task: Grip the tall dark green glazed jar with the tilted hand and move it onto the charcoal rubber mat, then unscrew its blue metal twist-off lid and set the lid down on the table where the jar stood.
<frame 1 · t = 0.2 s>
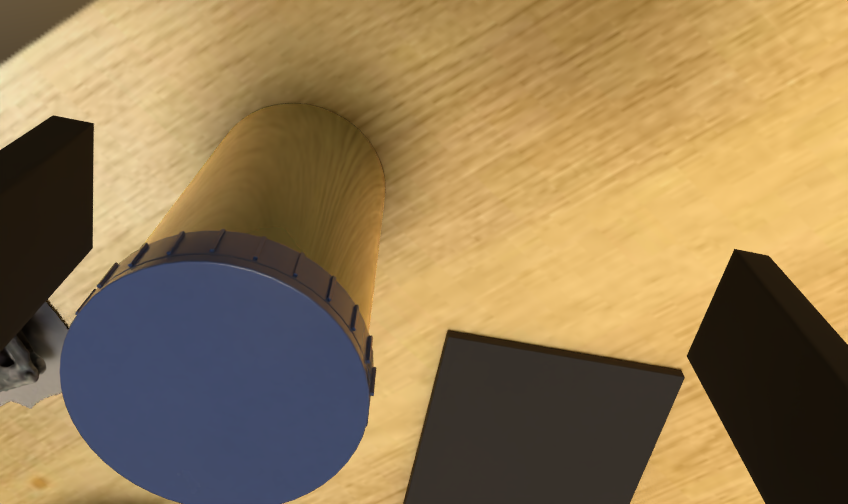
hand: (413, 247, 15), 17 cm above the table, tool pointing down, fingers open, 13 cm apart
jar: (299, 187, 33), on the table
lid: (219, 388, 20), point 15 cm above the table, screwed on, not yet turned
mat: (529, 457, 40), on the table
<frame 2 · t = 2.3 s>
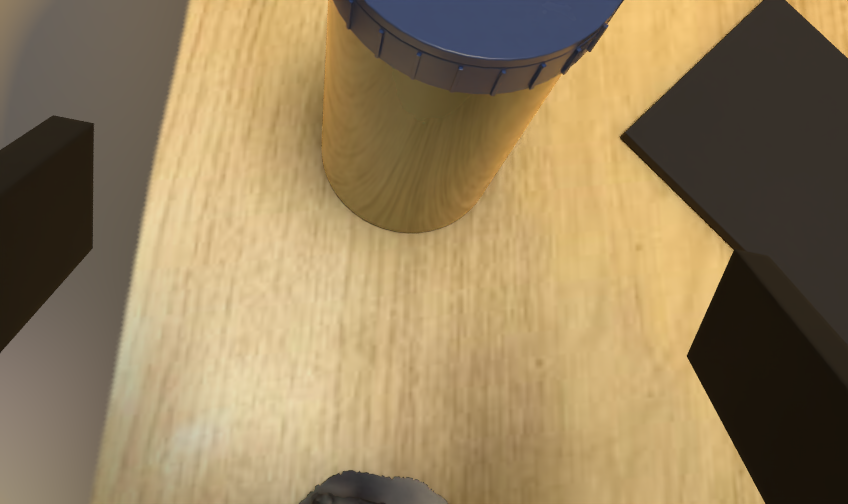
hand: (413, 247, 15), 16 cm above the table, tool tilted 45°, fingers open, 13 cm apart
jar: (408, 150, 33), on the table
mat: (802, 164, 36), on the table
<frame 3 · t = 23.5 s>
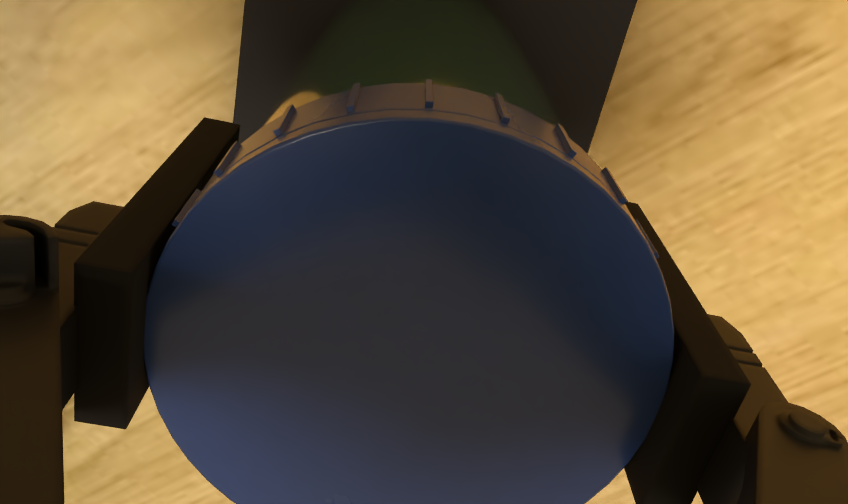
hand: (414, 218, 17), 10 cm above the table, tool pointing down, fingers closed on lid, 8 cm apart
jar: (416, 101, 25), point 1 cm above the table, touching mat
lid: (409, 358, 12), point 15 cm above the table, screwed on, not yet turned, touching gripper
mat: (419, 97, 25), on the table
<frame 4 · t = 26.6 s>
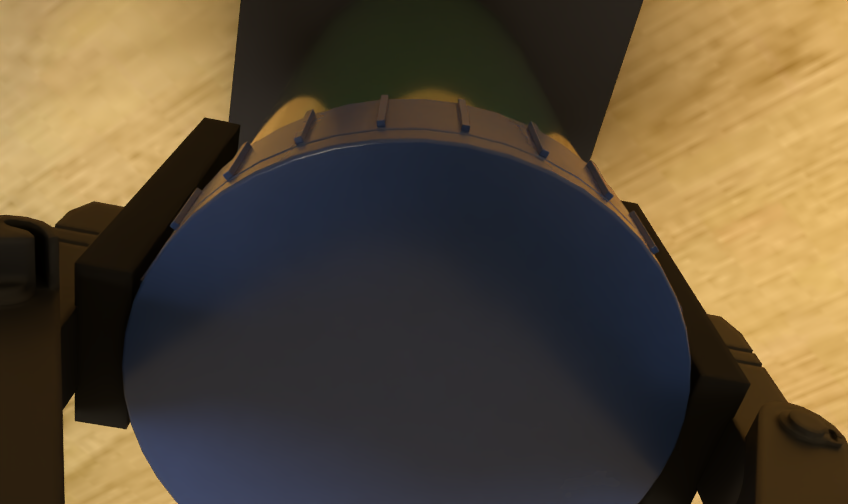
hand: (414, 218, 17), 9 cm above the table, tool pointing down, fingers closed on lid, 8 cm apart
jar: (416, 107, 24), point 1 cm above the table, touching mat
lid: (407, 391, 11), point 15 cm above the table, turned 84° so far, risen 0.2 cm, still on its thread, touching gripper
mat: (418, 102, 25), on the table
when the fingers open (2 cm above the table, at t = 36.2 s): lid drops 7 cm, point 1 cm above the table.
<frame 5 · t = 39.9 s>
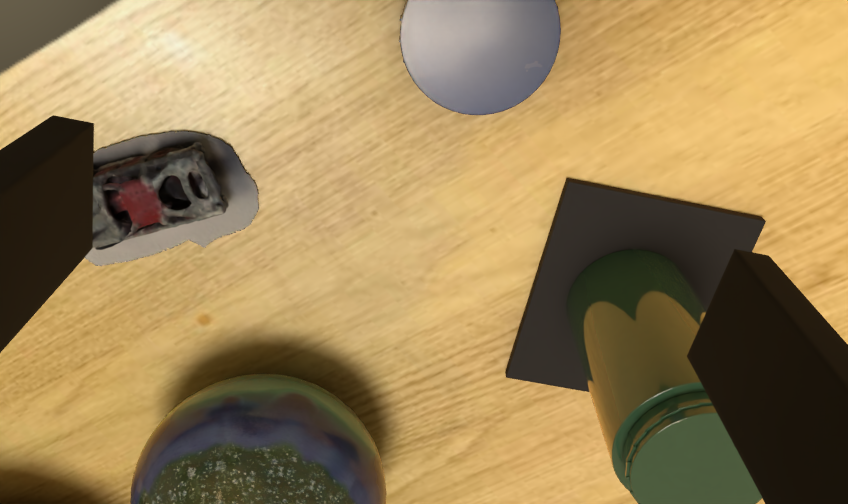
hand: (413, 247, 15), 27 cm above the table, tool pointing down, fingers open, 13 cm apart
jar: (627, 303, 46), point 1 cm above the table, touching mat
vase: (279, 428, 52), on the table
lid: (479, 35, 38), point 1 cm above the table, off its thread
mat: (626, 298, 47), on the table
toy car: (153, 198, 44), on the table
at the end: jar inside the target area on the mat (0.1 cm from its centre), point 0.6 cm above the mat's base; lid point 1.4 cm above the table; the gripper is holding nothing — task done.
